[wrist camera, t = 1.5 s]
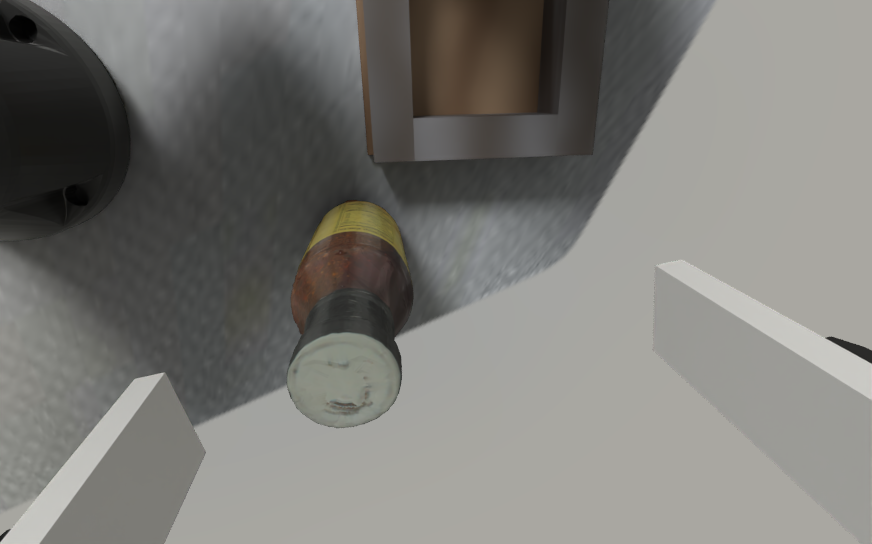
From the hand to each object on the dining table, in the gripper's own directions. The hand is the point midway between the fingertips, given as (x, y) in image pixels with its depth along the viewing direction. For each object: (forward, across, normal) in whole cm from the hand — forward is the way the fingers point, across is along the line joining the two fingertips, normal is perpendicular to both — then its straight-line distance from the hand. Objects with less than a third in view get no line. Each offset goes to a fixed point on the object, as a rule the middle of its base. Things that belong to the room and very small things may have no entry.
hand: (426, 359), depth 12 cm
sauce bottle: (+23, -3, -3) cm, 23 cm away
